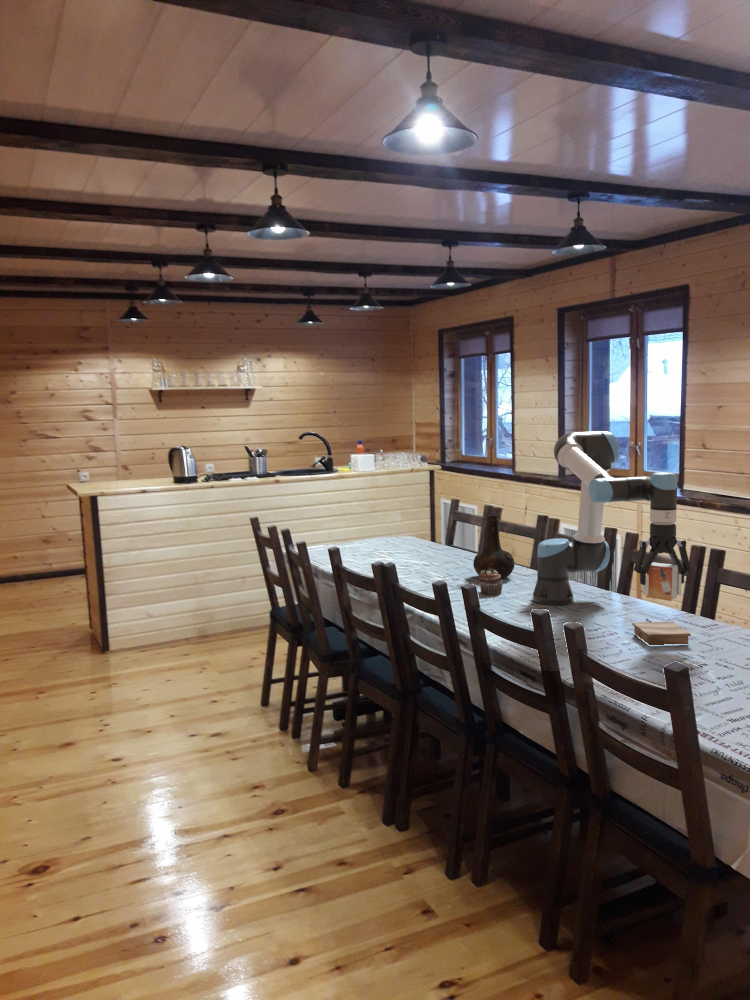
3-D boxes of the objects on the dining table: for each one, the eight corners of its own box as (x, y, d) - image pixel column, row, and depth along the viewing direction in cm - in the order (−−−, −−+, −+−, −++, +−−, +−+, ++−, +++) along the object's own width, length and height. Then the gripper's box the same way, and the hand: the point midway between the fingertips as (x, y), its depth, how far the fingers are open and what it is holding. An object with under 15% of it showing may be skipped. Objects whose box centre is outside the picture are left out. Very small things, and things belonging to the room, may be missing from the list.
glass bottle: (502, 584, 309) (502, 518, 306) (465, 579, 320) (465, 515, 317) (521, 576, 323) (521, 513, 320) (485, 572, 334) (485, 511, 331)
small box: (645, 597, 229) (646, 564, 228) (651, 594, 233) (652, 561, 232) (671, 601, 224) (672, 567, 223) (677, 597, 228) (678, 564, 227)
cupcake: (492, 597, 289) (492, 572, 288) (474, 592, 296) (473, 568, 295) (508, 592, 295) (508, 568, 294) (490, 588, 303) (489, 564, 301)
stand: (632, 634, 236) (632, 622, 236) (672, 633, 237) (672, 621, 236) (648, 647, 224) (648, 634, 223) (690, 646, 224) (690, 633, 223)
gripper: (631, 525, 222) (630, 598, 224) (704, 523, 222) (702, 596, 225) (622, 522, 229) (621, 592, 232) (693, 520, 230) (691, 590, 232)
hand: (661, 594), depth 228 cm, fingers closed on small box, 9 cm apart
